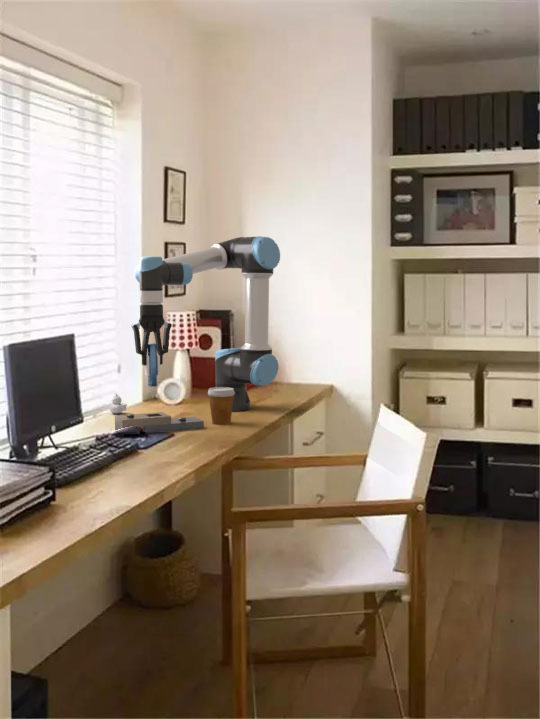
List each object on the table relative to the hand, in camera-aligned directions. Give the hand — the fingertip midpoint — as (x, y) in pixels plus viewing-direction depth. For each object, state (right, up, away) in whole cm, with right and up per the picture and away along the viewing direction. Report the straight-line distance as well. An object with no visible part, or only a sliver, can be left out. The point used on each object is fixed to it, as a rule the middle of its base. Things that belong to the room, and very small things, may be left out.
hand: (152, 374), depth 288 cm
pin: (0, -4, 0) cm, 4 cm away
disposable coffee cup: (+22, -17, +14) cm, 31 cm away
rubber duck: (-17, -15, +33) cm, 40 cm away
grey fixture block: (+2, -18, +3) cm, 19 cm away
